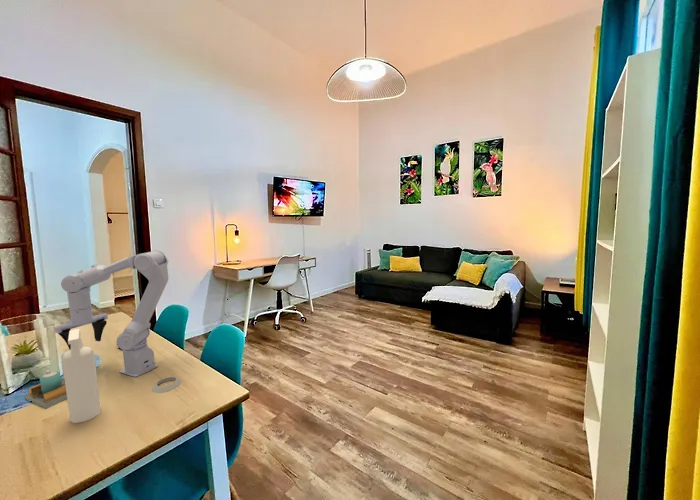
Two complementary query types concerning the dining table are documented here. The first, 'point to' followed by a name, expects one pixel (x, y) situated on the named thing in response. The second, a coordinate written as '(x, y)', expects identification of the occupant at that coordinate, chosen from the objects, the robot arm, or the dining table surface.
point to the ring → (169, 387)
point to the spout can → (50, 381)
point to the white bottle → (80, 380)
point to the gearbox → (47, 395)
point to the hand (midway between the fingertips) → (85, 345)
